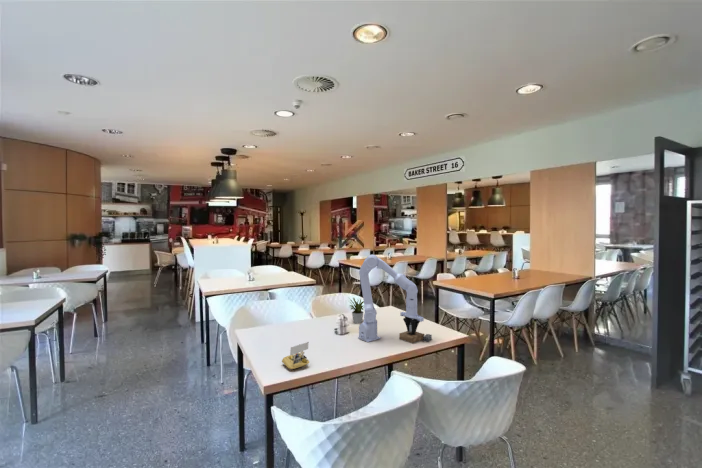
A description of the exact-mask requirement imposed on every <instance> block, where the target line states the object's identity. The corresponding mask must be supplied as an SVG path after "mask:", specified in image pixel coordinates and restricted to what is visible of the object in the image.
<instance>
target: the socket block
mask: <svg viewBox="0 0 702 468" xmlns="http://www.w3.org/2000/svg"><path fill="white" fill-rule="evenodd" d="M424 336H425V334H424V333H422V332H419V331H416V333H414V335H409V332H408V331H407V330H406V331H402V332H400V333H399V340H401V341H403V342H406V343H410V344H412V345H413V344H416V343H419V342H421V341H422V342H423V337H424Z"/></svg>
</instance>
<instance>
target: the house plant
mask: <svg viewBox="0 0 702 468" xmlns="http://www.w3.org/2000/svg"><path fill="white" fill-rule="evenodd" d="M352 299H353V300H352ZM352 299H351V298H350V297H348V300H349V304H350V305H349V308H350V310H352V312H351V315H352V322H353V324H362V323H363V319H364V305H363V304H364V300H363V301H362V298H359V299H357V301H356V299H355V297H353V296H352Z"/></svg>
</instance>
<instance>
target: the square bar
mask: <svg viewBox="0 0 702 468" xmlns="http://www.w3.org/2000/svg"><path fill="white" fill-rule="evenodd" d="M432 340H433V339H432V334H429V333H426V334H424V337H423V340H422V342H425V343H429V342H431V341H432Z"/></svg>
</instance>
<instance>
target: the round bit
mask: <svg viewBox="0 0 702 468" xmlns="http://www.w3.org/2000/svg"><path fill="white" fill-rule="evenodd" d="M409 335H414V333H412V326H411V322H410V324H409Z"/></svg>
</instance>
